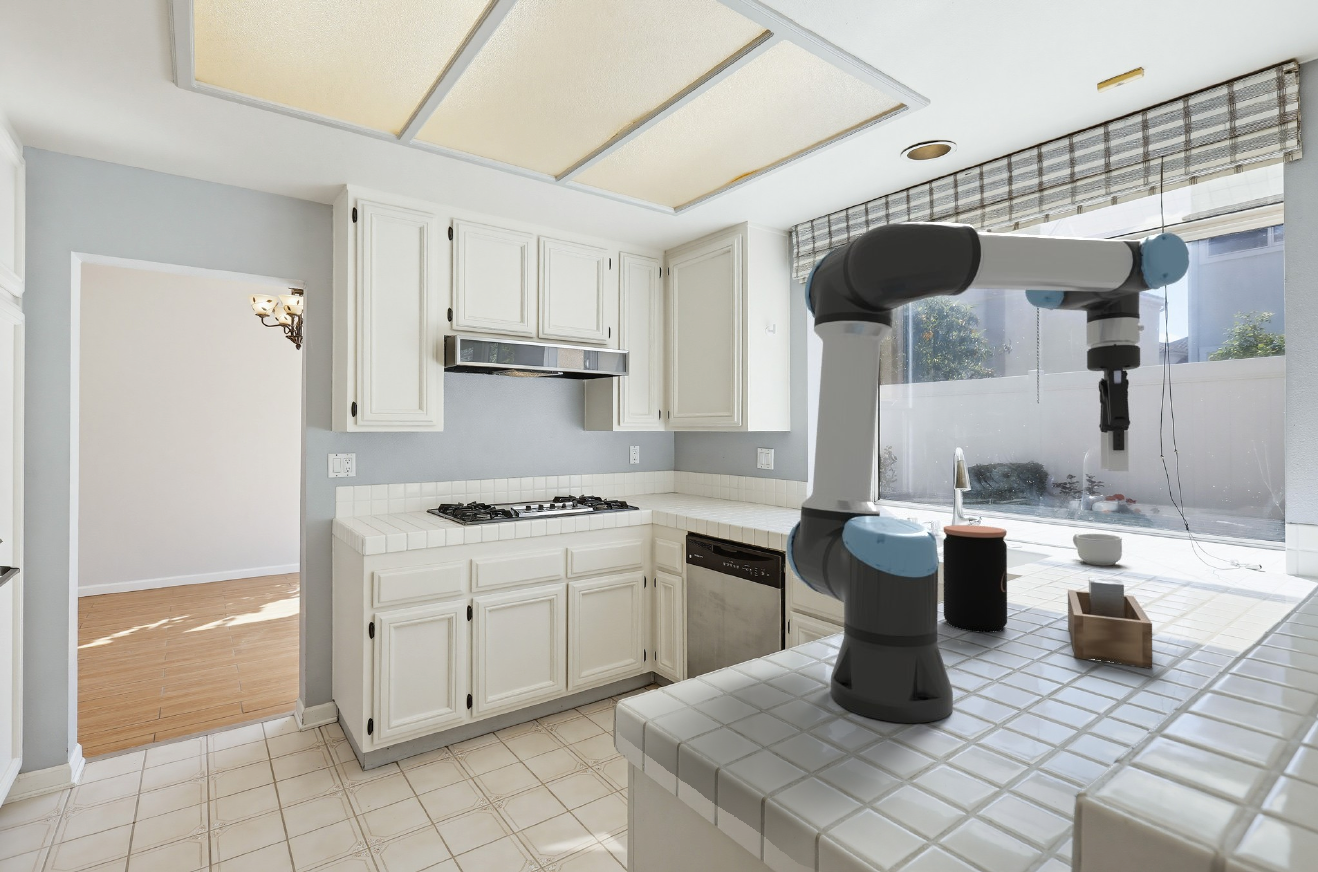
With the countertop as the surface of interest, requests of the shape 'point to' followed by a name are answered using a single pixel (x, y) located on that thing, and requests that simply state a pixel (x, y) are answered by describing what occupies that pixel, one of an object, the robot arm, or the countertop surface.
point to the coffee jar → (975, 577)
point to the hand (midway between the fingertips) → (1113, 470)
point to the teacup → (1098, 548)
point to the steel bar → (1106, 597)
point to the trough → (1110, 632)
